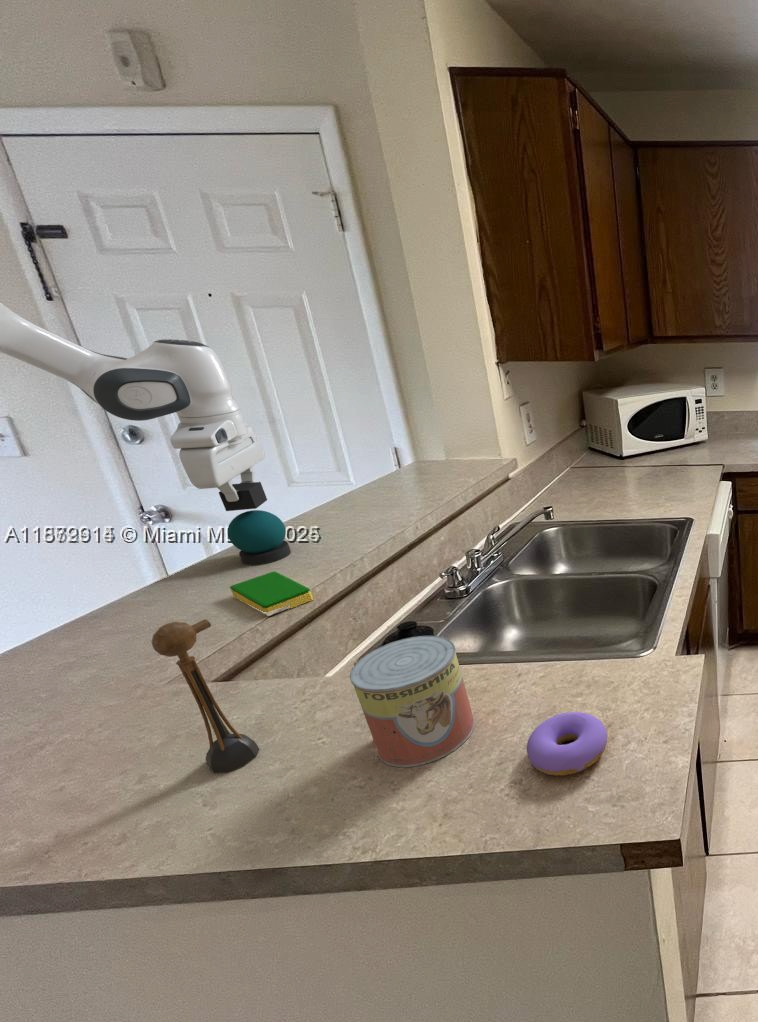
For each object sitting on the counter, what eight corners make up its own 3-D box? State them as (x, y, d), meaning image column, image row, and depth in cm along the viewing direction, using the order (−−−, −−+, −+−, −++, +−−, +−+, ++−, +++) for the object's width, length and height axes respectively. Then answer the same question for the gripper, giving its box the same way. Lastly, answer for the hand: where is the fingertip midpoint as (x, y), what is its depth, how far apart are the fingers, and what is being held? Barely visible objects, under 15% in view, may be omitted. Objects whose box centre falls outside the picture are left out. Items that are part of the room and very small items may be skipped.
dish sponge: (268, 617, 107) (263, 605, 106) (233, 597, 113) (228, 585, 112) (314, 600, 112) (310, 588, 111) (278, 581, 119) (274, 570, 118)
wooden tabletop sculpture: (247, 736, 80) (185, 606, 72) (276, 742, 80) (216, 610, 71) (199, 770, 75) (126, 633, 67) (229, 776, 74) (159, 638, 66)
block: (226, 511, 121) (218, 492, 119) (238, 502, 125) (231, 484, 123) (256, 508, 122) (248, 489, 120) (267, 500, 126) (260, 481, 125)
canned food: (392, 782, 74) (363, 703, 69) (367, 735, 81) (339, 661, 76) (488, 734, 81) (468, 660, 76) (457, 695, 88) (437, 625, 83)
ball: (230, 568, 123) (210, 522, 119) (251, 550, 131) (233, 506, 127) (283, 563, 126) (265, 517, 121) (301, 545, 133) (285, 501, 129)
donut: (626, 737, 80) (616, 714, 77) (577, 798, 74) (564, 775, 71) (569, 714, 84) (558, 691, 81) (518, 770, 78) (504, 746, 75)
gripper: (223, 416, 125) (248, 479, 131) (163, 442, 107) (195, 515, 113) (260, 414, 127) (283, 477, 132) (207, 439, 109) (236, 511, 115)
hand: (242, 494), depth 123 cm, fingers closed on block, 5 cm apart
